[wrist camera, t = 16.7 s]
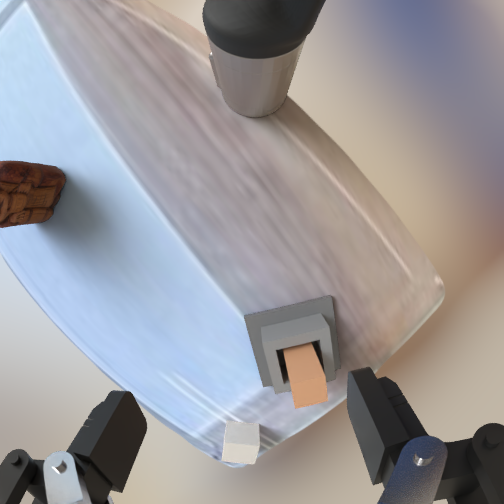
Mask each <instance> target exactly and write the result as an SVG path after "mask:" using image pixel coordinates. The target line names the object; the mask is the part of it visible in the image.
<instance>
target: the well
mask: <svg viewBox="0 0 504 504" xmlns="http://www.w3.org/2000/svg"><path fill="white" fill-rule="evenodd" d="M244 319H245V323H246V326H247V330H248V334H249V337H250V341H251V345H252V348H253V352H254V356H255V359H256V363H257V366H258V370H259V374H260V377H261V381H262V384H263V387H267V386H272V385H273V387H274V391H275V394H278V393H283V392H288V391H292V390H291V385H290V381H289V376H288V371H287V367H286V362H285V357H284V352H283V348H287V347H292V346H296V345H300V344H304V343H308V342H311V343H312V345H313V348H314V350H315V353H316V355H317V357H318V360H319V362H320V365H321V367H322V369H323V372H324V374H325V378H326V382H328V381H332V380H335V379H336V376H335V370H337V369H341V366H340V357H339V348H338V339H337V331H336V324H335V317H334V309H333V303H332V297H331V296H330V295H328V296H325V297H321V298H317V299H313V300H309V301H305V302H301V303H297V304H293V305H288V306H284V307H280V308H275V309H271V310H267V311H262V312H258V313H253V314H248V315H244Z"/></svg>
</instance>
